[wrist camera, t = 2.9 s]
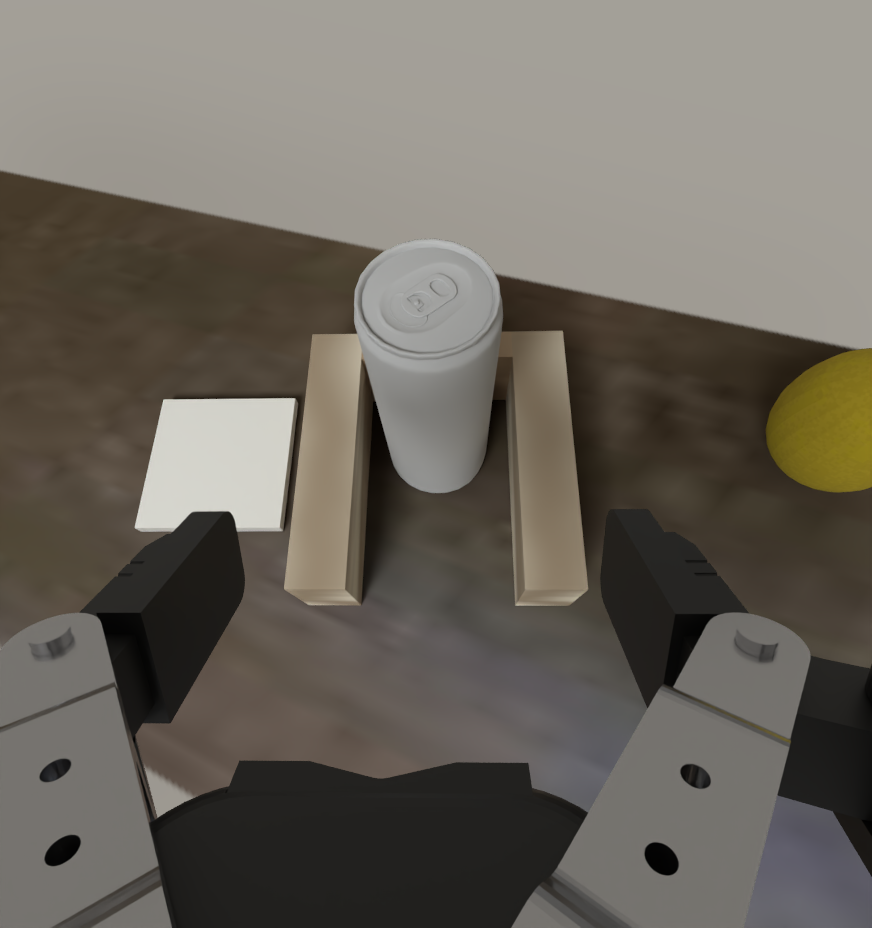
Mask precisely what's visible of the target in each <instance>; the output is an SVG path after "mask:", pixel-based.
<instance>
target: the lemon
mask: <svg viewBox="0 0 872 928" xmlns="http://www.w3.org/2000/svg"><path fill="white" fill-rule="evenodd" d="M766 439H767V446H768V449H769V451H770V454H771V457H772V458H773V459H774V461H775V462H776V464H777V465H778V467H779V468H780V469H781V470H782V471H783V472H784V473H785V474H786V475H787V476H789V477H790V478H792V479H794V480H795V481H797V482H798V483H800V484H802V485H805V486H808V487H810V488H813V489H816V490H822V491H828V492H851V491H859V490H864V489H867V488H870V487H872V348H868V349H860V350H854V351H848V352H845V353H841V354H839V355H836V356H834V357H832V358H829V359H827V360H825V361H823V362H821V363H818V364H816V365H815V366H813V367H811V368H809V369H808V370H806V371H805V372H803V373H802V374H801V375H800V376H799V377H797V378H796V379H795V380H794V381H793V382H792V383H791V384H789V385H788V386H787V387H786V388H785V389H784V390H783V392H782V393H781V394H780V396H779V397H778V399H777V401H776V402H775V404H774V406H773V407H772V409H771V411H770V413H769V417H768V421H767V426H766Z"/></svg>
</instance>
